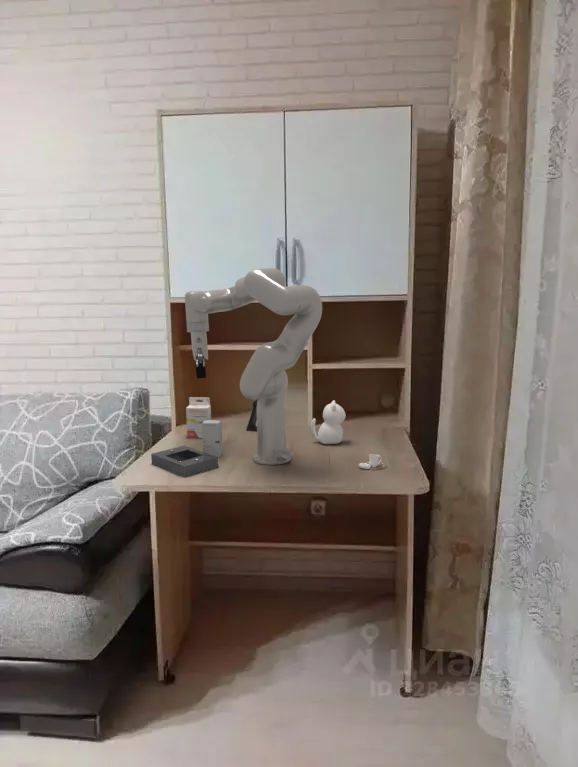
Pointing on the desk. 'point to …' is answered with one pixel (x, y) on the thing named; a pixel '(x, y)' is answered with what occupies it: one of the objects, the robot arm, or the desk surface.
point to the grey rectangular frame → (184, 461)
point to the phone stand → (253, 418)
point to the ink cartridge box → (197, 416)
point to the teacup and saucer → (371, 461)
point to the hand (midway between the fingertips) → (201, 375)
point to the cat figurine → (330, 425)
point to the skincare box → (212, 437)
